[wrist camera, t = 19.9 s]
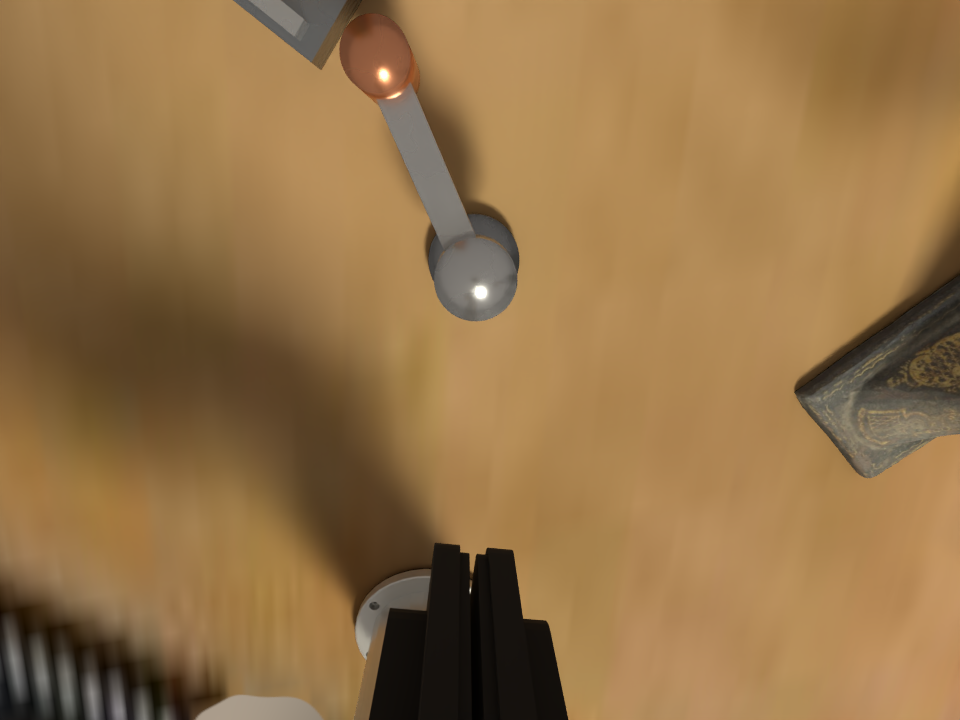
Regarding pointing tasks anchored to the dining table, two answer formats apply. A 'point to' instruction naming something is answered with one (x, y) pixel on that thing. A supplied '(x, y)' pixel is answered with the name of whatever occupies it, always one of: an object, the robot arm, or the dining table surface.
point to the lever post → (481, 227)
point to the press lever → (428, 170)
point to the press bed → (305, 23)
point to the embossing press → (893, 387)
